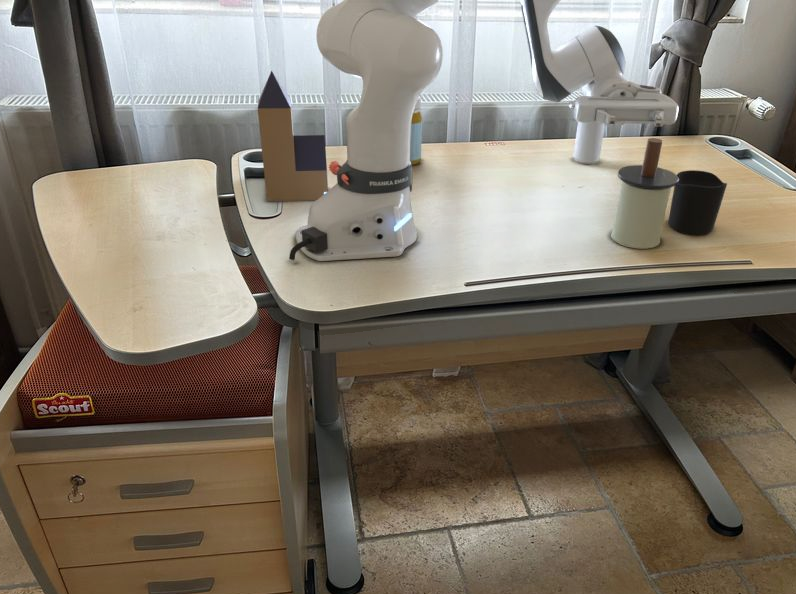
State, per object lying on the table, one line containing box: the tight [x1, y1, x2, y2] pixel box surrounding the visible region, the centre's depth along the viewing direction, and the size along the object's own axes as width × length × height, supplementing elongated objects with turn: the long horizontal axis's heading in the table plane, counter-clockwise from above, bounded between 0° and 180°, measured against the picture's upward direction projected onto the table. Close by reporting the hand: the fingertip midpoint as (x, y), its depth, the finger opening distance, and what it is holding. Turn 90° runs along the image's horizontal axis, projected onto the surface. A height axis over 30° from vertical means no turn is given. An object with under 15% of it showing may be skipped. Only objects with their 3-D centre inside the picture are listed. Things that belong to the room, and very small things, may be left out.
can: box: [610, 180, 672, 250], centre depth 135 cm, size 9×9×12 cm
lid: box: [617, 137, 679, 189], centre depth 129 cm, size 11×11×7 cm
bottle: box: [410, 95, 423, 166], centre depth 167 cm, size 7×7×15 cm
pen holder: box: [667, 169, 728, 236], centre depth 141 cm, size 9×9×10 cm
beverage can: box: [572, 122, 606, 165], centre depth 172 cm, size 6×6×12 cm
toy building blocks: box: [257, 70, 329, 203], centre depth 149 cm, size 12×19×25 cm, turn 10°
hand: (635, 121), depth 137 cm, fingers open, 8 cm apart
